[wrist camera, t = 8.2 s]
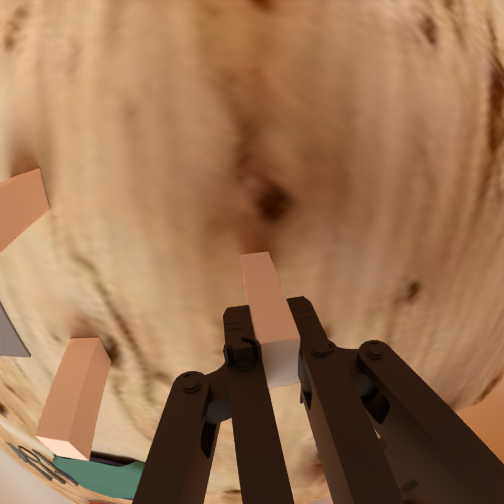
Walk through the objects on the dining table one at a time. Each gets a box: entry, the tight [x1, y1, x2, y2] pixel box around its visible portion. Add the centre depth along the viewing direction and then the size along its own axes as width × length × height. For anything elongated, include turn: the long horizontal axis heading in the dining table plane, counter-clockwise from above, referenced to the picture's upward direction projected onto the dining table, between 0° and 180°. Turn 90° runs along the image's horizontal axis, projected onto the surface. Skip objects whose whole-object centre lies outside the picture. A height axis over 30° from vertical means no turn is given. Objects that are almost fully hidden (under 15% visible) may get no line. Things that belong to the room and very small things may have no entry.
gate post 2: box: [35, 337, 111, 461], centre depth 16 cm, size 3×3×9 cm
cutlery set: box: [5, 442, 145, 500], centre depth 32 cm, size 20×30×2 cm, turn 94°
